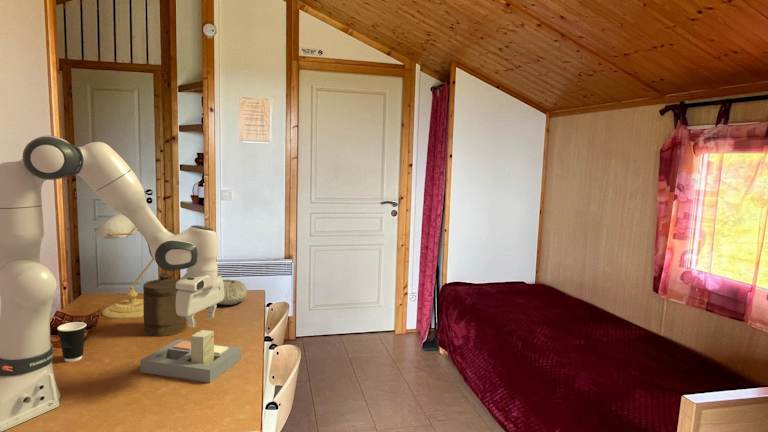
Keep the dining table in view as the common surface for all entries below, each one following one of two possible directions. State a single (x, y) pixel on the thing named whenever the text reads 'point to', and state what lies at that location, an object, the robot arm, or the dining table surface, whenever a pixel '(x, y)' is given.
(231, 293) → the decorative shell
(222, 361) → the socket plate
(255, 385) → the dining table surface
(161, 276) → the brown metal canister
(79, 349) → the dixie cup
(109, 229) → the desk lamp
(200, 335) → the skincare box
